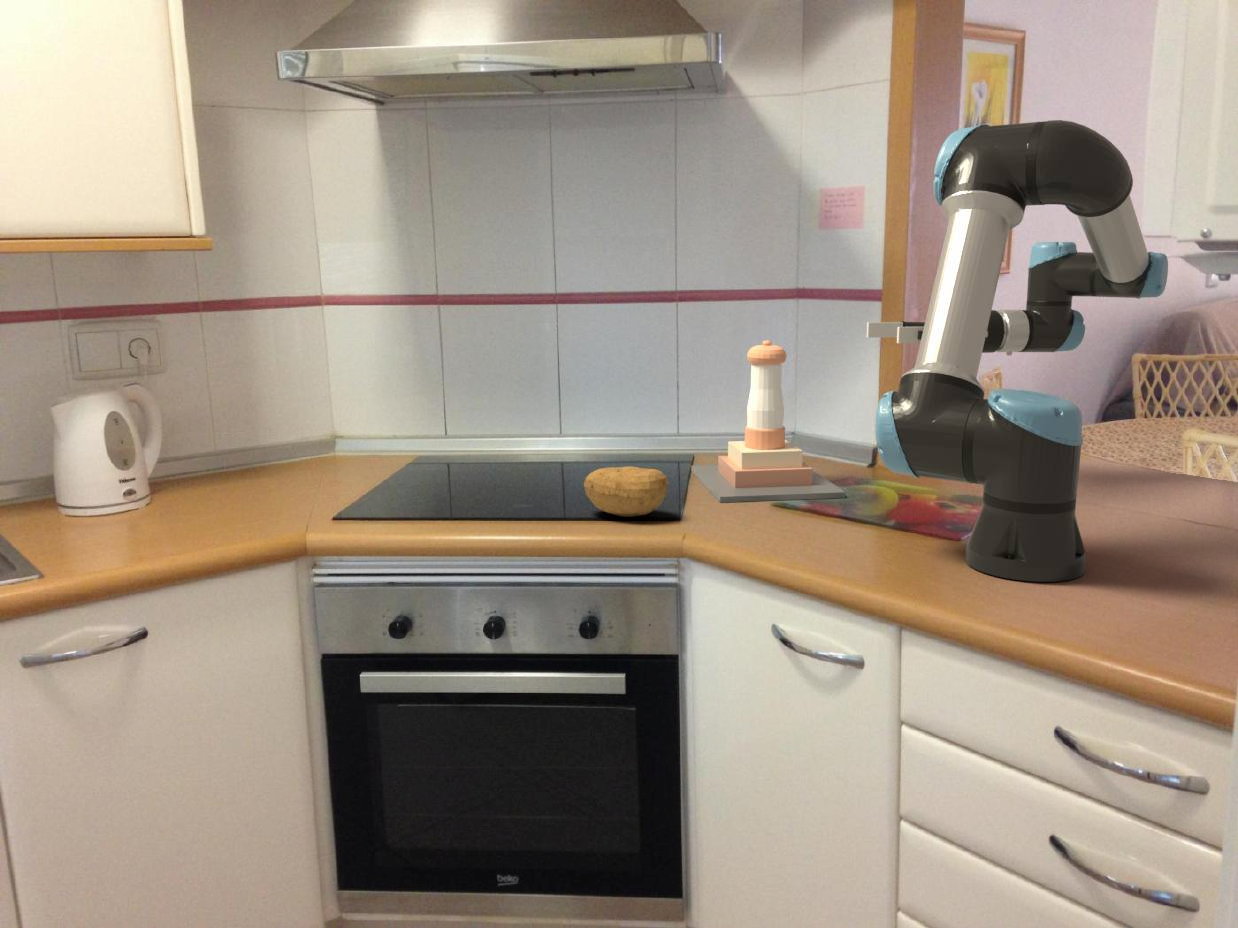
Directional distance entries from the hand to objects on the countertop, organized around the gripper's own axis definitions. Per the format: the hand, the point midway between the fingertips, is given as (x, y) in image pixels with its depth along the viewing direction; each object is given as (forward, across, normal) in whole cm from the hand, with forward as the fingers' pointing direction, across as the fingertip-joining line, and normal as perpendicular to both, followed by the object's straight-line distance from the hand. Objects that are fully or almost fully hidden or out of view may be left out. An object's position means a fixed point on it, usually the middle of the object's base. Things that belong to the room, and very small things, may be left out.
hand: (882, 332), depth 182 cm
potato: (+47, -12, -29) cm, 57 cm away
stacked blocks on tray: (+19, +6, -28) cm, 34 cm away
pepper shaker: (+19, +6, -21) cm, 29 cm away
